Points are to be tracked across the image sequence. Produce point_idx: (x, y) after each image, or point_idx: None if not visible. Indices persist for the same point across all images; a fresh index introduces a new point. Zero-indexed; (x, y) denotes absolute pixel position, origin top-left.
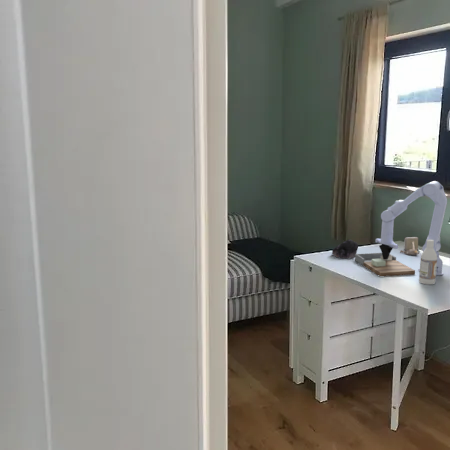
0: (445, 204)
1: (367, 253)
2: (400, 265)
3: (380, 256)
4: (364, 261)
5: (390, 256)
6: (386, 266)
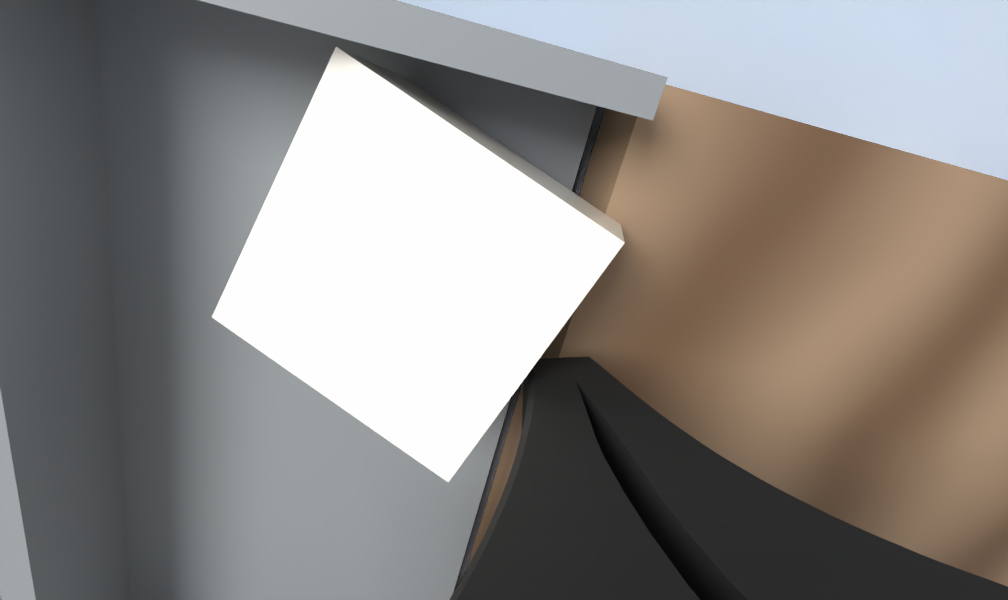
0: None
1: (1, 568)
2: (976, 308)
3: (228, 317)
4: (260, 565)
5: (593, 280)
6: None
